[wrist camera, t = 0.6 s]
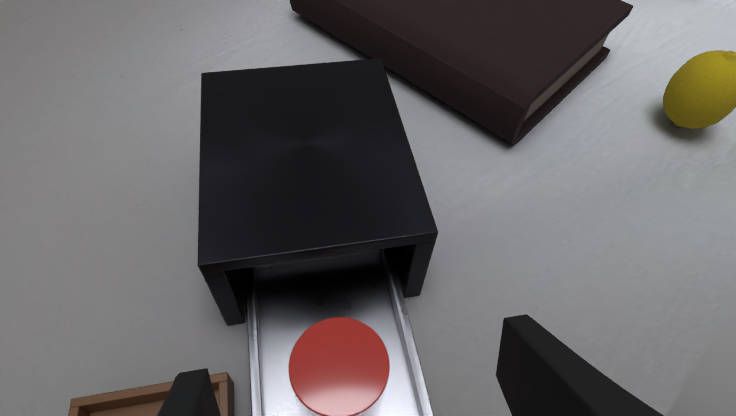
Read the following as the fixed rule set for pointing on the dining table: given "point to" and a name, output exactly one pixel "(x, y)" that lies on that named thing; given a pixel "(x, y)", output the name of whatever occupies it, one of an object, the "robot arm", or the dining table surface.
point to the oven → (305, 174)
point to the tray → (147, 400)
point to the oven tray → (323, 301)
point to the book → (480, 49)
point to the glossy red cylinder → (339, 369)
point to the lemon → (702, 90)
